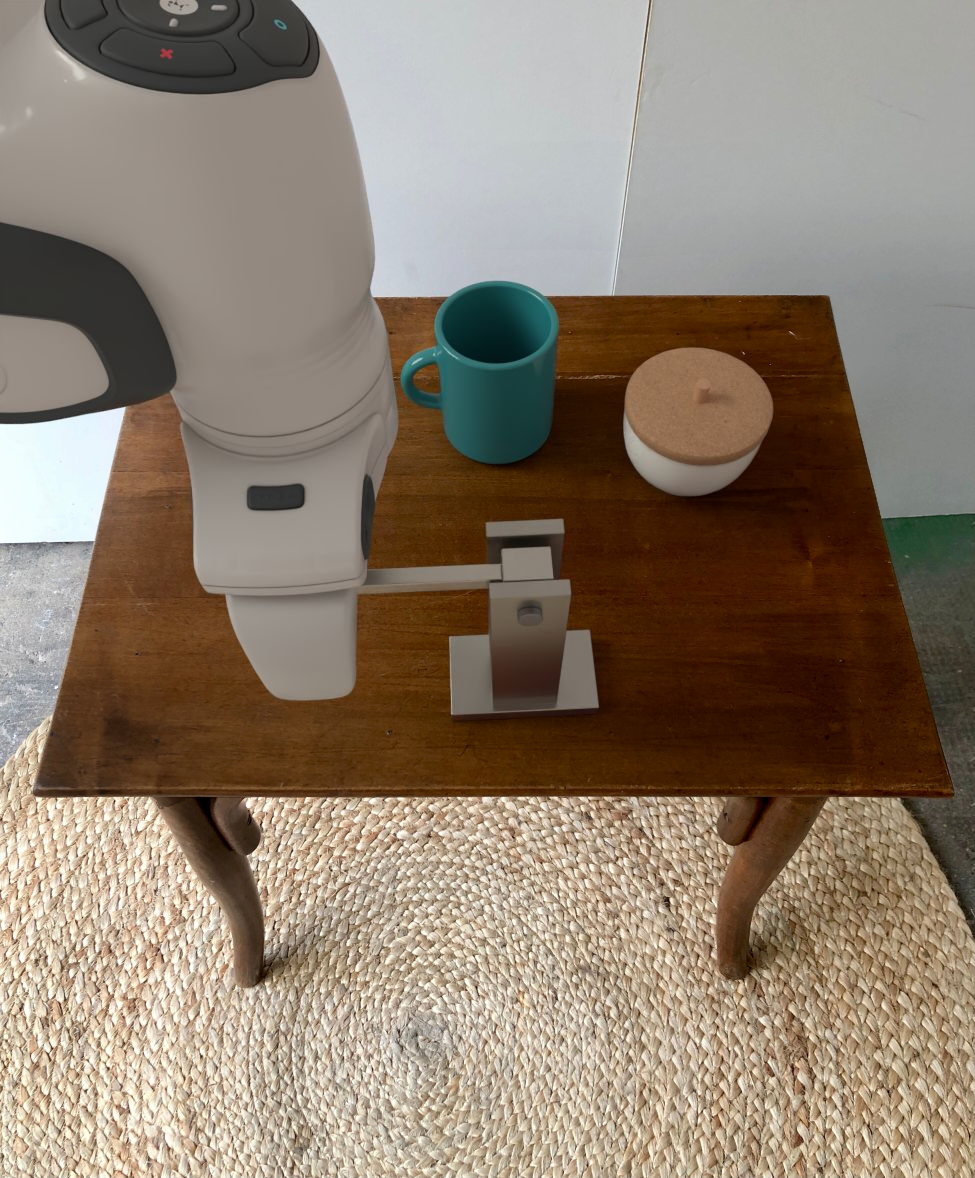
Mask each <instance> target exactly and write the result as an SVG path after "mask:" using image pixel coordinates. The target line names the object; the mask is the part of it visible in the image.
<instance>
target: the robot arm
mask: <svg viewBox="0 0 975 1178" xmlns="http://www.w3.org/2000/svg"><path fill="white" fill-rule="evenodd" d="M365 180H366V179H365V176H364V170H363V166H362V159H361V155H360V150H359V146H358V142H357V137H356V134H355V130H354V125H353V122H352V118H351V115H350V111H349V107H348V104H347V101H346V97H345V95H344V92H343V89H342V86H341V83H340V80H339V77H338V74H337V72H336V69H335V66H334V64H333V61H332V59H331V57H330V55H329V52H328V50H327V48H326V46H325V44H324V42H323V41H322V39H321V36H320V35H319V33H318V32H317V30H316V29H315V27H314V26H313V24H312V23H311V21H310V20H309V19H308V17H307V15H305V13H304V12H303V11H302V10H301V9H300V7H298V5H297V4H296V3H295V2H294V1H293V0H0V425H29V424H30V425H32V424H40V423H48V422H55V421H60V420H65V419H71V418H75V417H80V416H85V415H90V414H97V413H102V412H107V411H108V412H109V411H112V410H117V409H122V408H127V407H131V406H135V405H140V404H143V403H146V402H149V401H153V400H155V399H158V398H160V397H163V396H165V395H167V394H168V393H169V392H170V395H171V397H172V400H173V401H174V403H175V407H176V408H177V410H178V413H179V416H180V417H181V420H182V421H181V422H180V423H179V430H180V435H181V439H182V443H183V447H184V451H185V456H186V460H187V465H188V469H189V477H190V485H191V486H190V499H191V529H192V530H191V532H192V533H191V534H192V536H191V537H192V548H193V549H192V550H193V554H192V555H193V557H192V558H193V568H194V571H195V572H194V573H195V575H196V577H197V579H198V582H199V583H200V585H201V587H202V589H204V591H205V592H207V593H208V594H214V595H215V594H216V595H225V601H226V602H225V603H226V607H227V612H228V617H229V619H230V623H231V626H232V629H233V631H234V634H235V636H236V638H237V640H238V643H239V645H240V646H241V648H242V650H243V652H244V654H245V656H246V657H247V659H248V661H249V663H250V664H251V666H252V668H253V670H254V672H255V673H256V674H257V676H258V678H259V679H260V681H261V682H262V684H263V686H264V687H265V688H266V689H267V691H268V692H269V693H270V694H271V695H272V696H273V697H275V698H276V699H277V698H278V699H279V700H285V701H322V700H323V701H324V700H331V699H339V698H343V697H346V696H348V695H349V694H351V693H352V692H353V690H354V688H355V685H356V682H357V681H356V680H357V633H358V604H359V603H358V597H359V594H358V587H360V586H362V585H363V584H364V582H365V580H366V576H367V570H368V560H369V559H370V553H371V542H372V541H371V540H372V531H373V524H374V523H373V522H374V516H375V512H376V501H377V498H378V494H379V490H380V487H381V484H382V482H383V479H384V475H385V471H386V468H387V464H388V458H389V456H390V453H391V451H392V450H393V448H394V445H395V443H396V440H397V436H398V432H399V423H400V421H399V409H398V403H397V397H396V388H395V381H394V373H393V368H392V367H393V366H392V358H391V353H390V345H389V337H388V331H387V327H386V323H385V319H384V316H383V314H382V312H381V310H380V307H379V305H378V303H377V301H376V300H375V298H374V296H373V295H372V290H371V288H372V287H371V286H372V282H373V276H374V272H375V266H376V265H375V263H376V245H375V236H374V228H373V222H372V216H371V211H370V209H371V208H370V203H369V198H368V192H367V186H366V181H365Z"/></svg>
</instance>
